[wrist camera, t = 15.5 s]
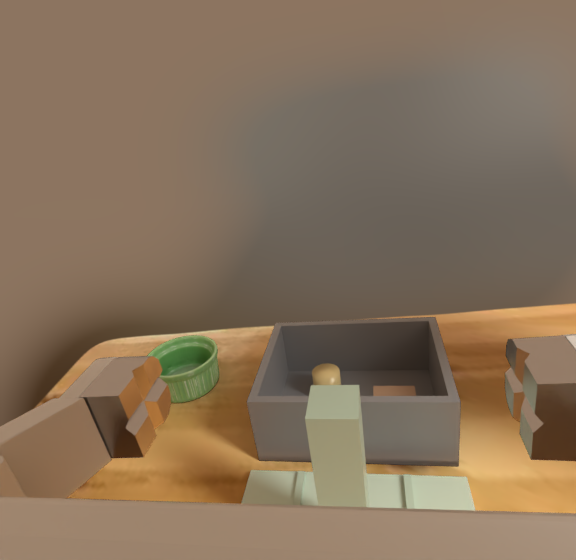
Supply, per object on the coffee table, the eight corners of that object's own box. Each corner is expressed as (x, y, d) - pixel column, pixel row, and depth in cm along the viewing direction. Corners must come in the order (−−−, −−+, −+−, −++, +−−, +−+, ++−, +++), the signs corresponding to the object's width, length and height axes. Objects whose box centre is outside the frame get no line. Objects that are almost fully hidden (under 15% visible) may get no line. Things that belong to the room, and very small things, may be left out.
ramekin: (209, 408, 49) (201, 377, 48) (139, 407, 51) (128, 376, 50) (232, 362, 57) (226, 334, 56) (170, 362, 59) (162, 335, 58)
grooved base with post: (466, 485, 36) (472, 331, 30) (524, 716, 23) (556, 524, 17) (252, 477, 40) (220, 339, 34) (198, 672, 27) (130, 502, 21)
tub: (435, 369, 50) (435, 317, 47) (458, 466, 38) (460, 402, 35) (283, 371, 54) (275, 322, 51) (259, 460, 41) (246, 402, 38)
